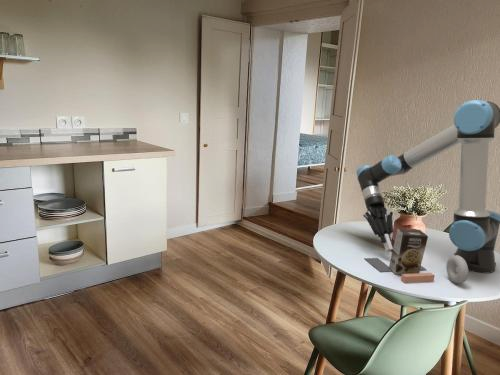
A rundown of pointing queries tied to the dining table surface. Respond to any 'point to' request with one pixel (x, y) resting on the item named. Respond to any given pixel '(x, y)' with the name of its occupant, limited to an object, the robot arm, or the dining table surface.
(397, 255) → the coffee box
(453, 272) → the donut
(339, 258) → the dining table surface
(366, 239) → the dining table surface
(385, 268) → the pads
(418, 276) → the tan rectangular bar
